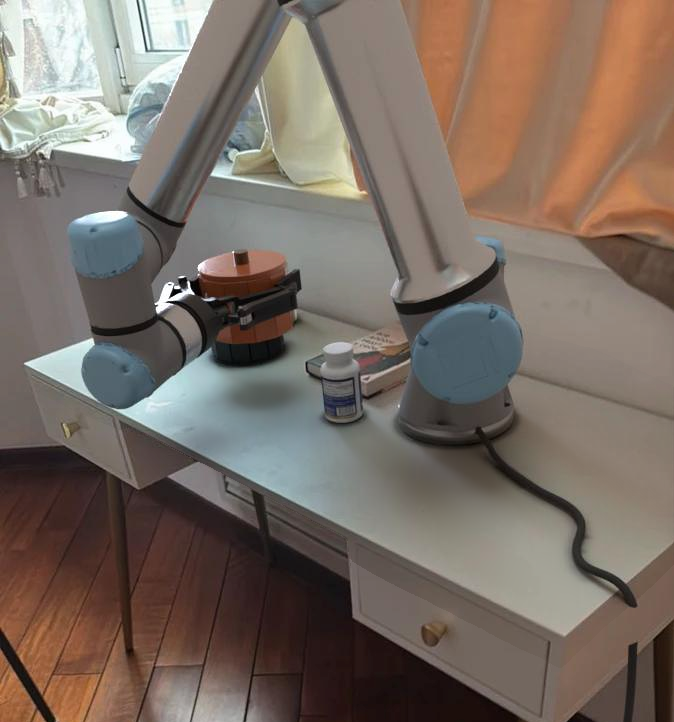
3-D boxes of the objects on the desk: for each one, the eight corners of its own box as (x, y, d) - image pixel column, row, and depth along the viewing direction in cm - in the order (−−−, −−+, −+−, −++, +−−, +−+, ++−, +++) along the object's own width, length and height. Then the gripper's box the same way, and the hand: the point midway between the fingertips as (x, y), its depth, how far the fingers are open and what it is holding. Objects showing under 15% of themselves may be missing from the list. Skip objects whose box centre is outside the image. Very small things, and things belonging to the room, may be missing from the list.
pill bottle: (339, 404, 122) (333, 337, 116) (370, 411, 119) (366, 343, 113) (317, 419, 118) (310, 351, 112) (349, 426, 116) (343, 357, 110)
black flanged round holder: (304, 355, 138) (300, 321, 134) (222, 376, 134) (216, 342, 130) (273, 330, 148) (268, 298, 145) (196, 348, 144) (190, 316, 141)
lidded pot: (306, 330, 118) (298, 251, 112) (226, 350, 115) (212, 270, 108) (274, 307, 127) (265, 233, 121) (198, 325, 124) (184, 250, 117)
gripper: (103, 355, 111) (186, 300, 126) (270, 369, 102) (338, 308, 118) (88, 297, 106) (176, 247, 122) (262, 307, 98) (333, 252, 113)
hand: (256, 277), depth 120 cm, fingers closed on lidded pot, 12 cm apart
